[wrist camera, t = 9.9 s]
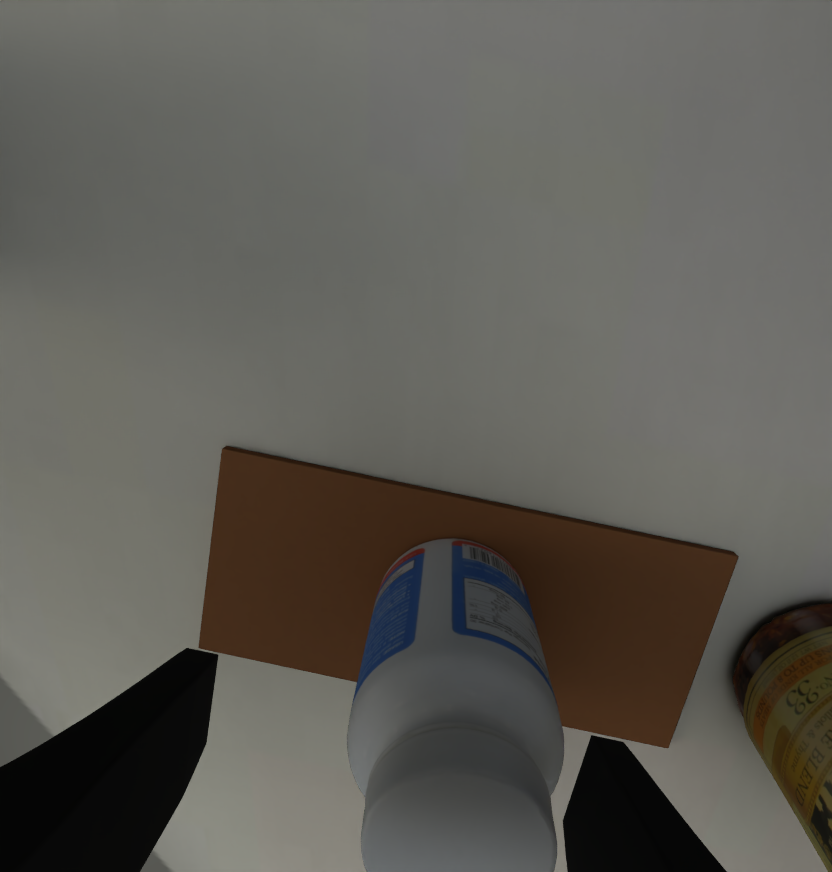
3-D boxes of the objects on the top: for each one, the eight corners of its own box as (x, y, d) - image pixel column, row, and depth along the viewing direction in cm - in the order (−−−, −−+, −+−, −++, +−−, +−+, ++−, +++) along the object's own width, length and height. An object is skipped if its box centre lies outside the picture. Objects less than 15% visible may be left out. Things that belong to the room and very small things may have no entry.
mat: (202, 642, 23) (198, 648, 23) (225, 445, 21) (221, 448, 21) (665, 741, 23) (668, 749, 22) (733, 551, 21) (739, 556, 20)
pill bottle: (397, 680, 22) (354, 969, 13) (361, 549, 21) (285, 763, 12) (543, 656, 22) (611, 941, 12) (514, 519, 21) (564, 721, 11)
